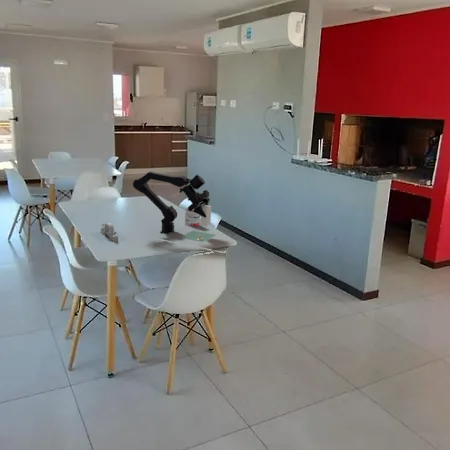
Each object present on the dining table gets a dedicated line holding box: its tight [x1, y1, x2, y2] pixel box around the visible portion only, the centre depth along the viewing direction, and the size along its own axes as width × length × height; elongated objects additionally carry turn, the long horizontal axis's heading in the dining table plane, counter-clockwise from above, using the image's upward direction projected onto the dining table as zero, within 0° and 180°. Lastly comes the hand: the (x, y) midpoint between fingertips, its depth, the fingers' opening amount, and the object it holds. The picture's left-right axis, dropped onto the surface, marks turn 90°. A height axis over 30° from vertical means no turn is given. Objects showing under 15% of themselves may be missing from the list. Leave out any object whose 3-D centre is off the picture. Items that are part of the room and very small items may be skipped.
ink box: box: [184, 206, 201, 227], centre depth 292 cm, size 8×5×12 cm, turn 55°
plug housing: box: [199, 204, 212, 227], centre depth 266 cm, size 4×6×11 cm, turn 158°
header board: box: [179, 230, 216, 243], centre depth 269 cm, size 15×17×3 cm
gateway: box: [100, 222, 119, 242], centre depth 260 cm, size 20×2×8 cm, turn 35°
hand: (207, 216), depth 266 cm, fingers closed on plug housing, 6 cm apart
